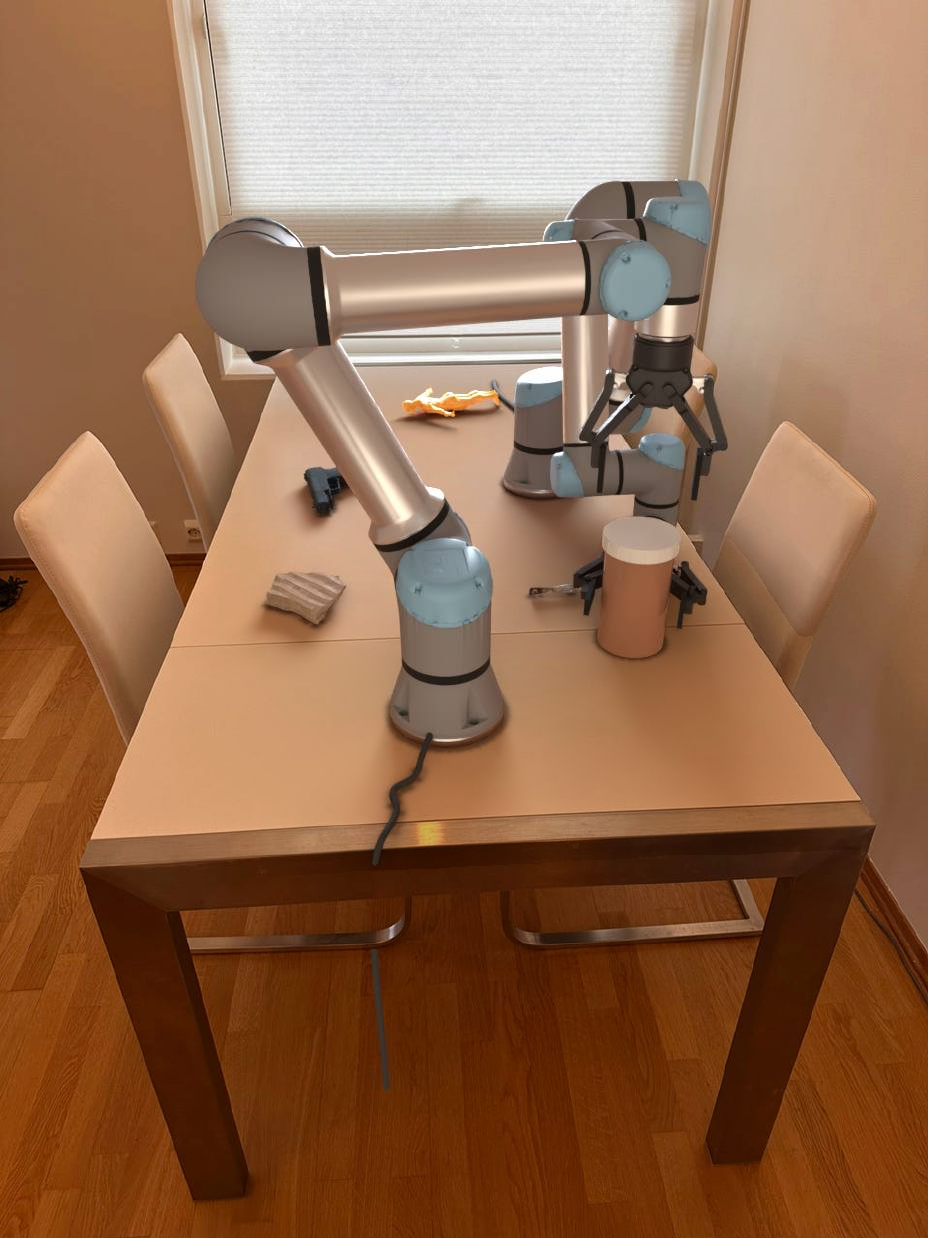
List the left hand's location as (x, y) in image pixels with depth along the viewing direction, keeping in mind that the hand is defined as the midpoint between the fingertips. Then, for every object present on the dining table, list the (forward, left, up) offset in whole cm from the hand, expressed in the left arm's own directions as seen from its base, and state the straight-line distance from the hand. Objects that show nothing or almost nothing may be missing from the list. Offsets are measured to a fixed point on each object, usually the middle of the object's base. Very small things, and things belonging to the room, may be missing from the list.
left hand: (646, 492), depth 123 cm
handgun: (+42, +61, -24) cm, 78 cm away
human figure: (+98, +50, -24) cm, 112 cm away
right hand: (-3, 0, -18) cm, 18 cm away
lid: (0, 0, -6) cm, 6 cm away
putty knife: (+11, +13, -24) cm, 30 cm away
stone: (0, +52, -24) cm, 58 cm away
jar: (0, 0, -24) cm, 24 cm away
